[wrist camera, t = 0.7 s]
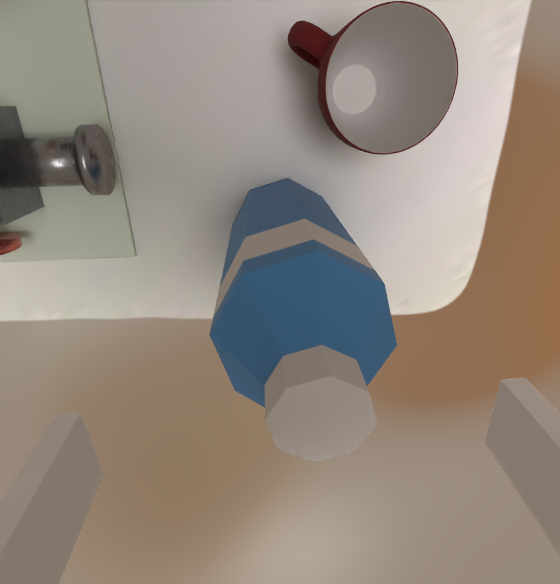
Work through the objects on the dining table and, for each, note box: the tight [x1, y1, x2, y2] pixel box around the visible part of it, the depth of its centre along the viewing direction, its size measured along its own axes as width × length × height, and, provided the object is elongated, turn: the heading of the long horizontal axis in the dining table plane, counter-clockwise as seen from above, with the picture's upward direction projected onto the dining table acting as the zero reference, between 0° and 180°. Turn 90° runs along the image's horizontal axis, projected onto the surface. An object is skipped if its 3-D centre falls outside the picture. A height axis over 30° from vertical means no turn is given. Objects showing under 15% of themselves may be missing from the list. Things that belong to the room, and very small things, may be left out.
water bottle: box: [210, 178, 397, 463], centre depth 25 cm, size 9×9×25 cm
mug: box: [288, 1, 458, 154], centre depth 27 cm, size 11×8×10 cm
